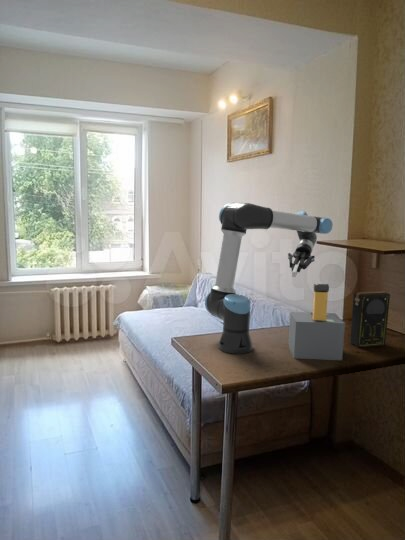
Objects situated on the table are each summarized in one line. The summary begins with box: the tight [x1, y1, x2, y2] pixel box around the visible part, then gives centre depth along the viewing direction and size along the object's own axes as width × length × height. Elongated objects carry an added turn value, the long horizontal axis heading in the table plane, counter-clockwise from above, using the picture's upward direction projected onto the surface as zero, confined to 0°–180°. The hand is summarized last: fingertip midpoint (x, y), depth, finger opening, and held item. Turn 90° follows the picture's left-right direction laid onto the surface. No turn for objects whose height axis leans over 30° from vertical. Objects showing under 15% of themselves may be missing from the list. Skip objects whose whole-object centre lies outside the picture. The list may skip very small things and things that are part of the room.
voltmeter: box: [349, 290, 391, 349], centre depth 196 cm, size 16×9×25 cm, turn 105°
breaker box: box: [288, 311, 346, 361], centre depth 184 cm, size 20×16×16 cm
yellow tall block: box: [312, 283, 330, 321], centre depth 177 cm, size 6×3×15 cm, turn 87°
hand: (293, 274), depth 191 cm, fingers closed
